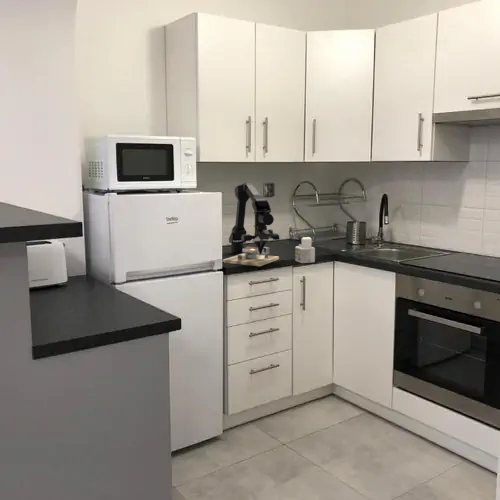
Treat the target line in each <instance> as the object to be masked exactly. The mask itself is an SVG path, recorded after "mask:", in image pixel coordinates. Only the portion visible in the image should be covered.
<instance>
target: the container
mask: <svg viewBox="0 0 500 500" xmlns="http://www.w3.org/2000/svg"><path fill="white" fill-rule="evenodd" d="M312 240H313V239H312V237H310V236H300V237H299V238H298V245H297V246H295V248H294V249H295V251H294V253H295V256H294V257H295V258H294V261H295V262H298V263H300V264H309V263H310V264H311V263H315V262H316V261H315V260H316V248H315V247H313V246H312Z"/></svg>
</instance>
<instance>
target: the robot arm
mask: <svg viewBox="0 0 500 500" xmlns="http://www.w3.org/2000/svg"><path fill="white" fill-rule="evenodd" d="M234 195H235V198H236V200H237V205H236V215H235V225H234V226H233V227H232V229H231V232H230V236H229V237H228V243H229V244H230V245H231V250H230V251H231V252H229V254H231V255H239V254H243V253H244V254H245V252H242V249H243V248H245V245H244V244H245V243H246V242H251V241H252V242H254V243H255V246H256V248H257V249H258V251H259V254H258V255H262V254H261V253H262V251H263V248H264V247H265V245H266V244H267V243H268V242H269V239H272V240H273V241H279V240H280V234H278V233H275V232H274V230H273V229H271V228H270V229H268V226H271V225H272V224H273V223H274V221H275V218H274V216H273V215H272V213H271V212H272V208H271V205H270V203H269V201H268V199H267V198H266V197H265V196H264V195H261V194H260V193H259V192H258V190H257V189H256V186H255V185H254V182H253V183H252V182H244V183H242V184H240V185H239V184H238V185H237V186H236V187H235V188H234ZM249 199H250V200H251V202H252V203H251V207H252V209H253V210H254V212H253V215H254V225H253V227H254V235H252V234H249V233H247V230H246V228H245V219H246V218H245V217H246V208H247V202H248V201H249Z"/></svg>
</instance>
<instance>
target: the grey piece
mask: <svg viewBox="0 0 500 500" xmlns="http://www.w3.org/2000/svg"><path fill="white" fill-rule="evenodd" d="M242 252H245V253H257V255H268V256H269V255H270V247H267V246H264V248H263V251H262V253H261V254H259V251H258V249H257V247H255V246H246V247H244V248H243V249H242ZM245 253H244V254H245Z"/></svg>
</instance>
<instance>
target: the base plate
mask: <svg viewBox="0 0 500 500" xmlns="http://www.w3.org/2000/svg"><path fill="white" fill-rule="evenodd" d="M222 260H223V262H224V263H223V264H234V265H245V266H253V267H254V266H255V267H262V266H264V265H267V264H270V263H272V262H276V261H278V260H280V256H275V255H269V254H268V255H263V254H257V253H243V254H235V255H234V256H229V257H227V258H224V259H222Z"/></svg>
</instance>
